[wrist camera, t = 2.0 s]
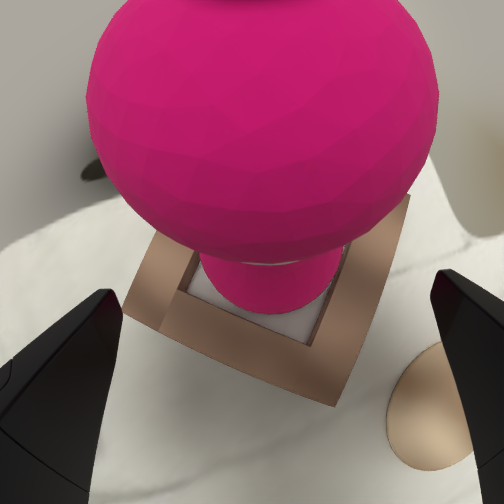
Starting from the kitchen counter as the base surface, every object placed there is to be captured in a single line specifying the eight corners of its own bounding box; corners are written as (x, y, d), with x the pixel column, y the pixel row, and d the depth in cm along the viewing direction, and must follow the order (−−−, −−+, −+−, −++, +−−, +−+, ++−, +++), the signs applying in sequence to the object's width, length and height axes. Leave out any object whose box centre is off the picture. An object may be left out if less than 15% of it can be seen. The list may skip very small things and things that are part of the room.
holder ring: (328, 400, 18) (334, 407, 17) (133, 312, 20) (120, 311, 18) (399, 205, 21) (410, 195, 19) (219, 136, 23) (215, 121, 21)
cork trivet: (463, 474, 16) (466, 476, 15) (361, 455, 17) (363, 458, 17) (512, 358, 18) (516, 358, 17) (420, 319, 19) (424, 319, 19)
